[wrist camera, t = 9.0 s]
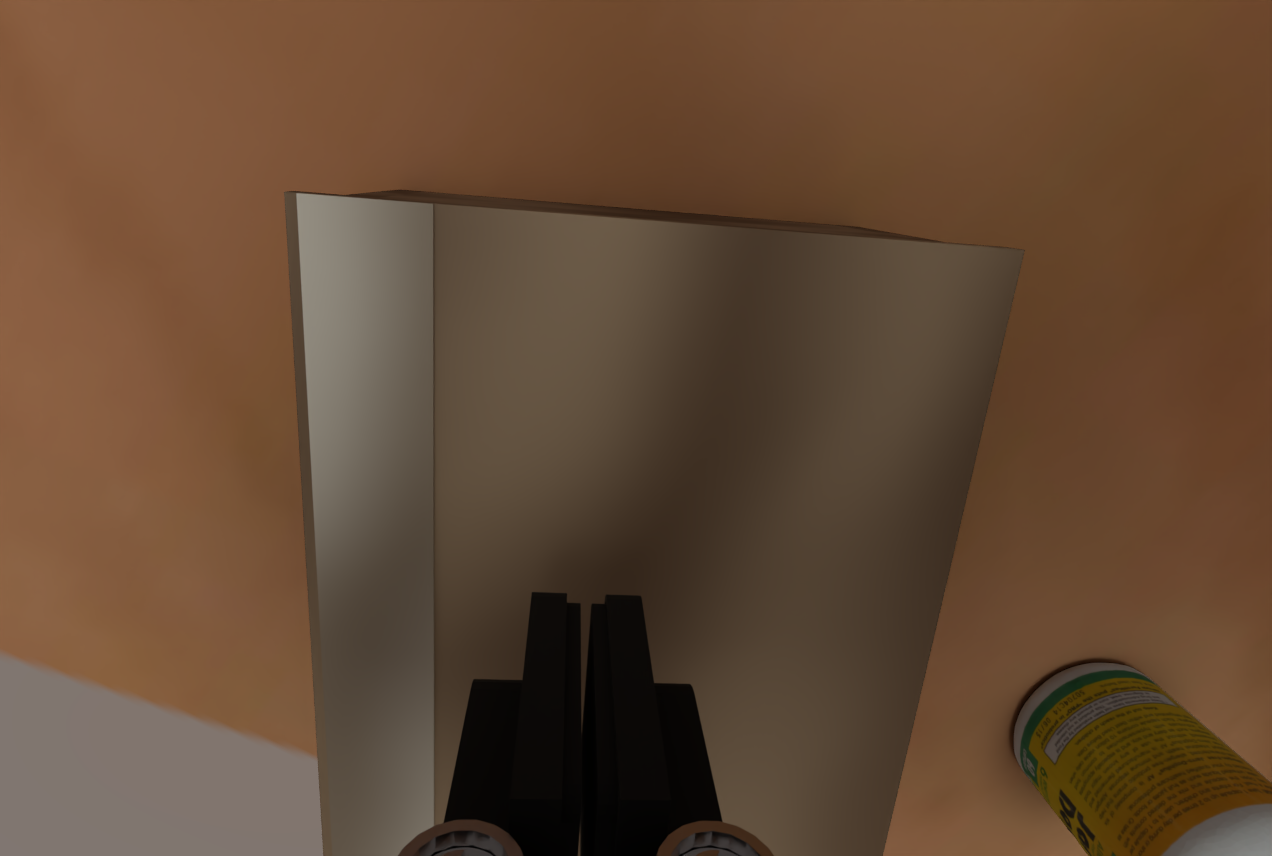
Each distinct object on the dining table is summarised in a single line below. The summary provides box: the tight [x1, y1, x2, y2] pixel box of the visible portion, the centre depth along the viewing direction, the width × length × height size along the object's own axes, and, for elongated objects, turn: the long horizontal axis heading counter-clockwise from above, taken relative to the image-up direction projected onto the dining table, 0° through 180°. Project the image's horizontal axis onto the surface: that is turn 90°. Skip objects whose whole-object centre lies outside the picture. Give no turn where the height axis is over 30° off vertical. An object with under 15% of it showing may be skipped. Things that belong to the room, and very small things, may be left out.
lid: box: [284, 191, 1025, 856], centre depth 15 cm, size 12×14×1 cm
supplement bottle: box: [1014, 663, 1272, 856], centre depth 22 cm, size 5×5×10 cm
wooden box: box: [350, 190, 947, 243], centre depth 19 cm, size 12×14×7 cm
